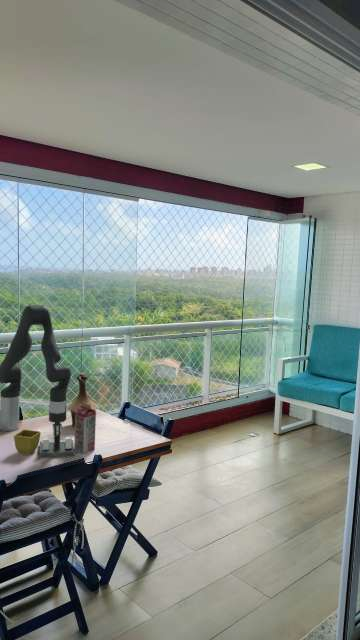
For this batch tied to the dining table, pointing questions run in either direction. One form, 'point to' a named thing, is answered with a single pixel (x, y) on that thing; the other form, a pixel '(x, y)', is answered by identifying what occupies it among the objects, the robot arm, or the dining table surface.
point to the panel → (56, 450)
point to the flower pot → (27, 441)
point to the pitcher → (81, 398)
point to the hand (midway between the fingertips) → (56, 447)
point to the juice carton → (85, 429)
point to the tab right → (68, 442)
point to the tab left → (45, 443)
